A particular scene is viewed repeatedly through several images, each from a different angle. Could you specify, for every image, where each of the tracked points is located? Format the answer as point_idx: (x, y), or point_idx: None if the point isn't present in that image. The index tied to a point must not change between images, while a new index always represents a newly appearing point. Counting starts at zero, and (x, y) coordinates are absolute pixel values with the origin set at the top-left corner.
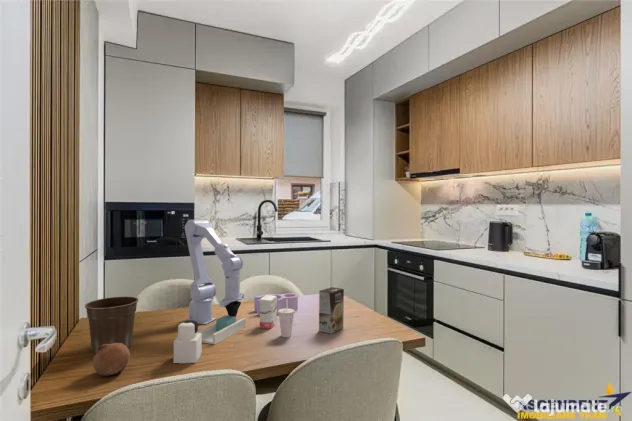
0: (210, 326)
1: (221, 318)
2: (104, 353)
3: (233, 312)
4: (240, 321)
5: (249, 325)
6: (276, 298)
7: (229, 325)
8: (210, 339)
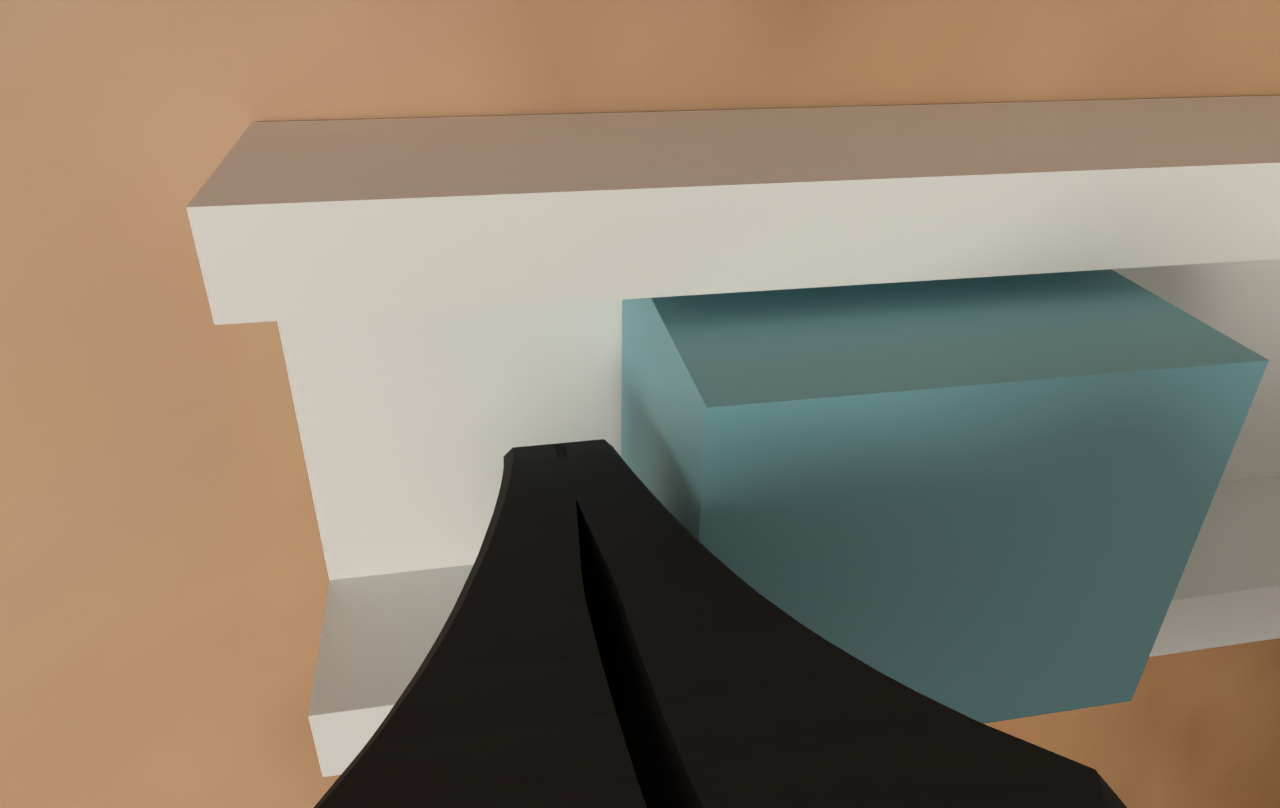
0: (1191, 616)
1: (1015, 665)
2: None
3: (762, 615)
4: (574, 189)
5: (45, 77)
6: None
7: (1090, 261)
8: None
